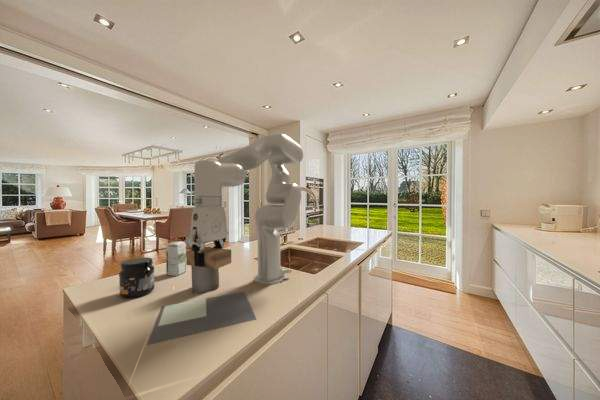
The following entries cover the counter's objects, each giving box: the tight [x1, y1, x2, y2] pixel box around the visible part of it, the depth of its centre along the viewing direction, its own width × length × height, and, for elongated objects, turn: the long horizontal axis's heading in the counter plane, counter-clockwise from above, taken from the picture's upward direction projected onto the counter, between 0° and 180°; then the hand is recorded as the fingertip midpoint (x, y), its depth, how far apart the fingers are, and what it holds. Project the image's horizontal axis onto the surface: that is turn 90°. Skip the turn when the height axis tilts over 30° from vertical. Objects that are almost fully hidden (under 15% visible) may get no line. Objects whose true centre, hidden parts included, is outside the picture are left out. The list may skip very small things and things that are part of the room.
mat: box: [146, 291, 257, 346], centre depth 66 cm, size 26×20×1 cm
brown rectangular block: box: [186, 246, 232, 269], centre depth 66 cm, size 11×6×4 cm, turn 68°
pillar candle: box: [190, 266, 220, 294], centre depth 85 cm, size 10×10×15 cm
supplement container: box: [118, 256, 156, 299], centre depth 81 cm, size 10×10×12 cm
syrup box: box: [165, 240, 187, 277], centre depth 101 cm, size 6×6×14 cm
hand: (209, 262), depth 66 cm, fingers closed on brown rectangular block, 6 cm apart
